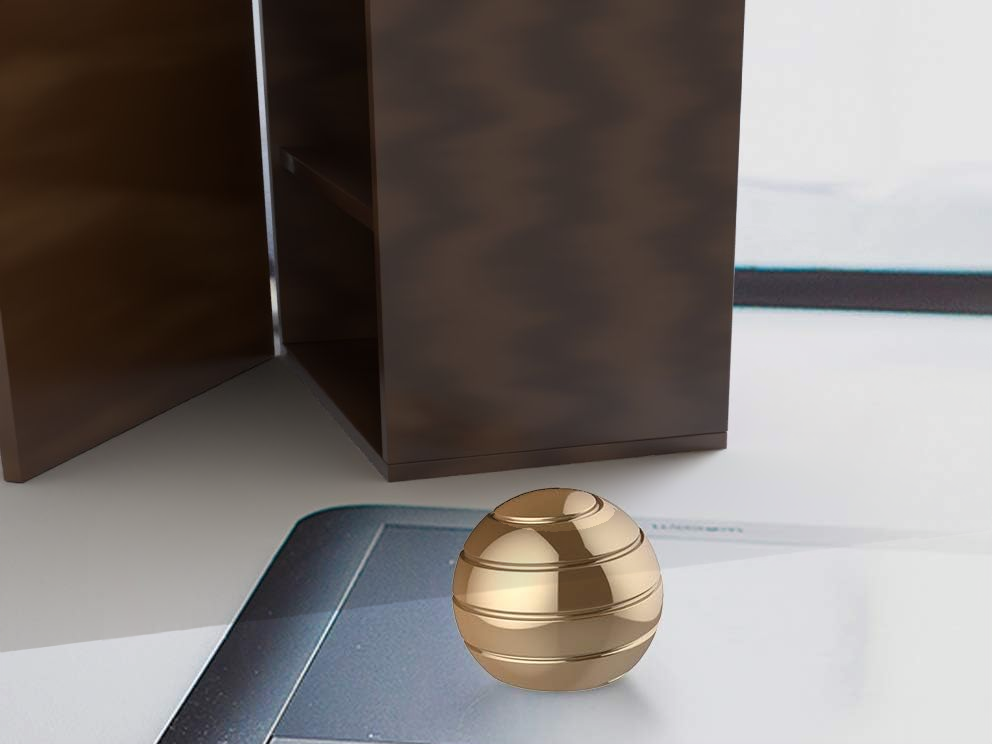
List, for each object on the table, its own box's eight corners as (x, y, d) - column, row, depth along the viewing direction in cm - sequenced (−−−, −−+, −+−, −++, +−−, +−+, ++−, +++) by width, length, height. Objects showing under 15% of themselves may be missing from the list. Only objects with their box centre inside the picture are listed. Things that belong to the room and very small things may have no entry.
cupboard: (388, 484, 85) (367, -49, 75) (280, 356, 107) (253, -69, 97) (727, 450, 91) (748, -46, 82) (559, 336, 113) (560, -65, 103)
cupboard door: (-103, 467, 85) (-185, -60, 75) (173, 346, 108) (137, -70, 98) (22, 483, 83) (-46, -54, 74) (275, 356, 106) (248, -66, 97)
